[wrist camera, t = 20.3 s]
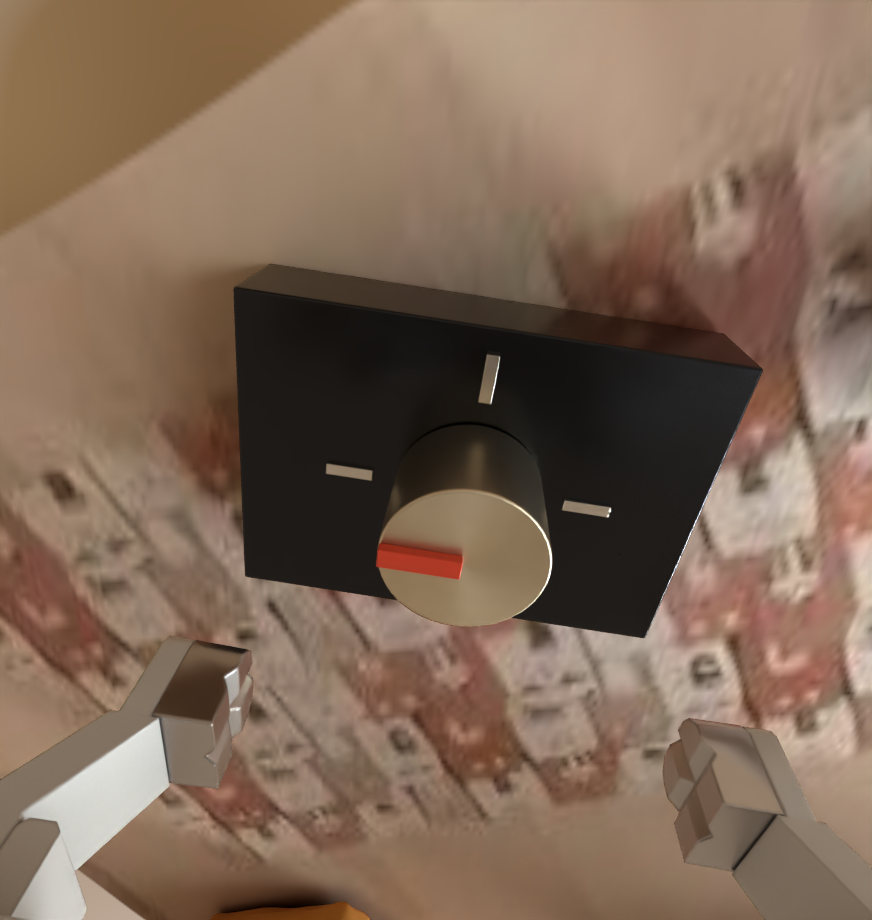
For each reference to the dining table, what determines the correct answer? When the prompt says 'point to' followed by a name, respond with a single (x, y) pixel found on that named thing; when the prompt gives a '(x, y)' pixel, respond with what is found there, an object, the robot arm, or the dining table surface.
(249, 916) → the coffee package
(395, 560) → the dial
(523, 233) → the dining table surface
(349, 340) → the timer panel
